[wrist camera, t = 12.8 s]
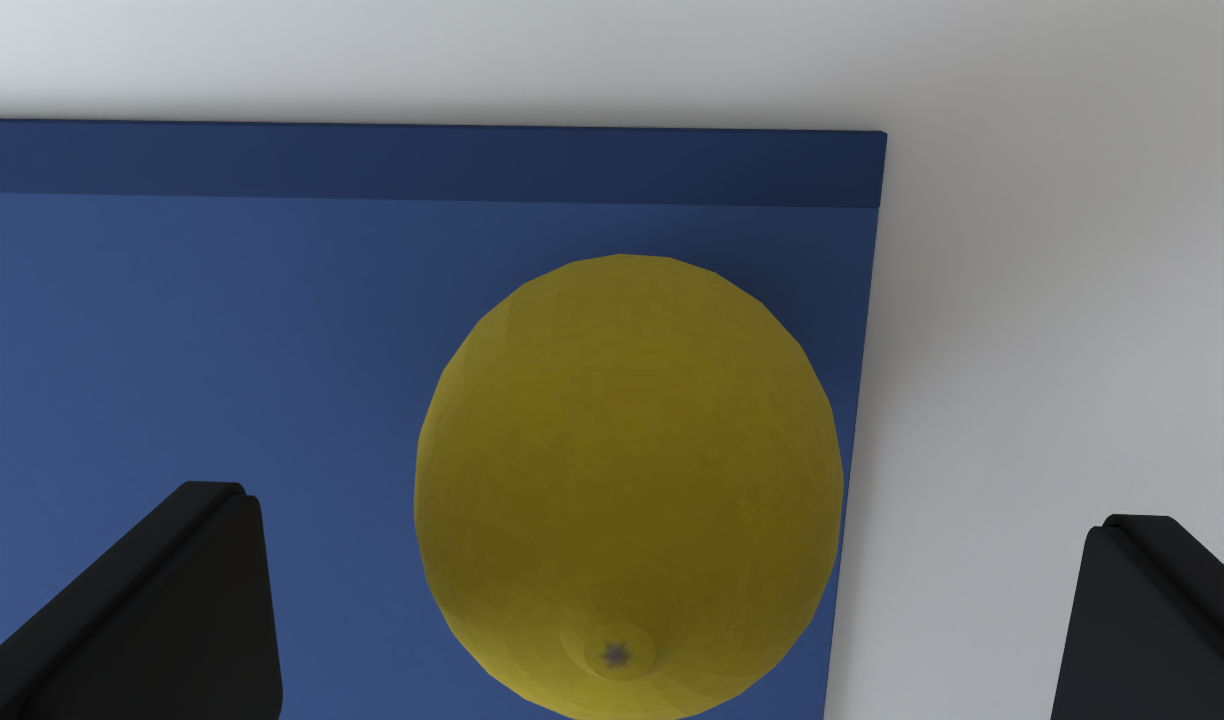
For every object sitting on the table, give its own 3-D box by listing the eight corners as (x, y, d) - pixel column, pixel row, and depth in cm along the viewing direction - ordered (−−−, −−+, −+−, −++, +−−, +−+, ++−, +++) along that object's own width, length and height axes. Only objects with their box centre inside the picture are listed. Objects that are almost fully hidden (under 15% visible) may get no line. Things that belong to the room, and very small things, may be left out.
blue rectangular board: (883, 130, 15) (888, 133, 15) (803, 870, 20) (805, 884, 20) (-309, 114, 16) (-330, 115, 15) (-77, 835, 21) (-89, 847, 21)
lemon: (527, 162, 15) (403, 297, 8) (843, 268, 15) (1026, 498, 8) (442, 451, 17) (275, 793, 9) (726, 540, 17) (785, 934, 10)
